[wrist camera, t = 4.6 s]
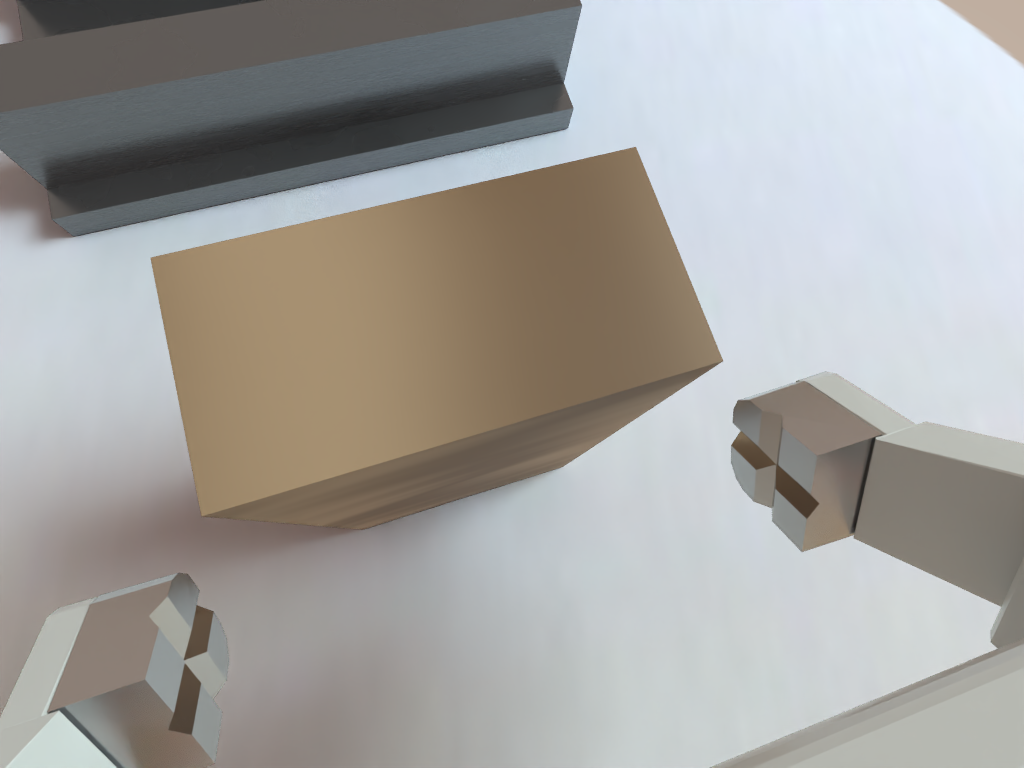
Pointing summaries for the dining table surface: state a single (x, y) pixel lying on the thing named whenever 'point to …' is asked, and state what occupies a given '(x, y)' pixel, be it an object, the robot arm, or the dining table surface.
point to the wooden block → (427, 344)
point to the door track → (265, 94)
